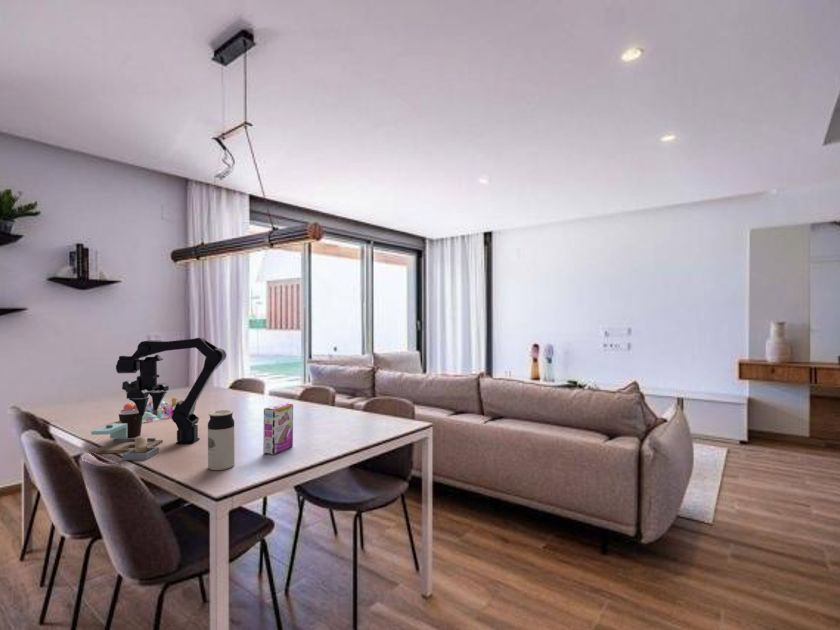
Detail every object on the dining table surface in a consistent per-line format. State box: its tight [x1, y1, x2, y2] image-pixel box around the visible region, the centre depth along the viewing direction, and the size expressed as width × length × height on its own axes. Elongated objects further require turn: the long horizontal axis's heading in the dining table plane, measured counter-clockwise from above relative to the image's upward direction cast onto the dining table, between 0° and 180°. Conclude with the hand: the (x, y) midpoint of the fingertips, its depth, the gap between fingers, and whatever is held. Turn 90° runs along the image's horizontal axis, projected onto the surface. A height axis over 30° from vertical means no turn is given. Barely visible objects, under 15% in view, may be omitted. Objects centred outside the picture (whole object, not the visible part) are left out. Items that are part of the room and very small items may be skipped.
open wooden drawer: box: [93, 437, 164, 454], centre depth 169 cm, size 18×12×2 cm
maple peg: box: [134, 435, 148, 454], centre depth 158 cm, size 4×4×6 cm
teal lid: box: [90, 423, 128, 439], centre depth 168 cm, size 6×11×6 cm, turn 2°
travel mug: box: [207, 409, 236, 471], centre depth 147 cm, size 8×8×18 cm
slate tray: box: [122, 446, 160, 461], centre depth 158 cm, size 8×8×2 cm
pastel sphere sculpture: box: [120, 397, 183, 424], centre depth 219 cm, size 25×24×9 cm
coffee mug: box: [118, 409, 143, 438], centre depth 183 cm, size 12×9×10 cm
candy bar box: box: [262, 402, 294, 456], centre depth 164 cm, size 11×5×16 cm, turn 159°
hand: (148, 412), depth 173 cm, fingers open, 9 cm apart
